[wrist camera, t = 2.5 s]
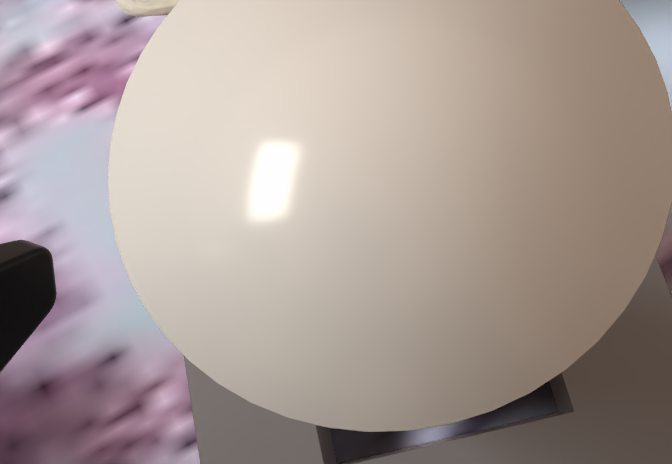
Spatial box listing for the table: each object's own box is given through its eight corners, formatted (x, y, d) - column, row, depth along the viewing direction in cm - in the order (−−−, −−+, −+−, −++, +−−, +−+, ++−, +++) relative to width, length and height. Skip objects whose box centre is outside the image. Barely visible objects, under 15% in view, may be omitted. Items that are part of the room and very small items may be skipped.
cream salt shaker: (528, 394, 17) (779, 345, 5) (353, 436, 17) (146, 495, 5) (476, 226, 18) (559, -160, 6) (315, 268, 19) (82, -12, 6)
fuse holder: (721, 507, 16) (760, 520, 14) (251, 611, 16) (227, 637, 15) (559, 84, 19) (573, 48, 17) (181, 189, 20) (154, 165, 18)
